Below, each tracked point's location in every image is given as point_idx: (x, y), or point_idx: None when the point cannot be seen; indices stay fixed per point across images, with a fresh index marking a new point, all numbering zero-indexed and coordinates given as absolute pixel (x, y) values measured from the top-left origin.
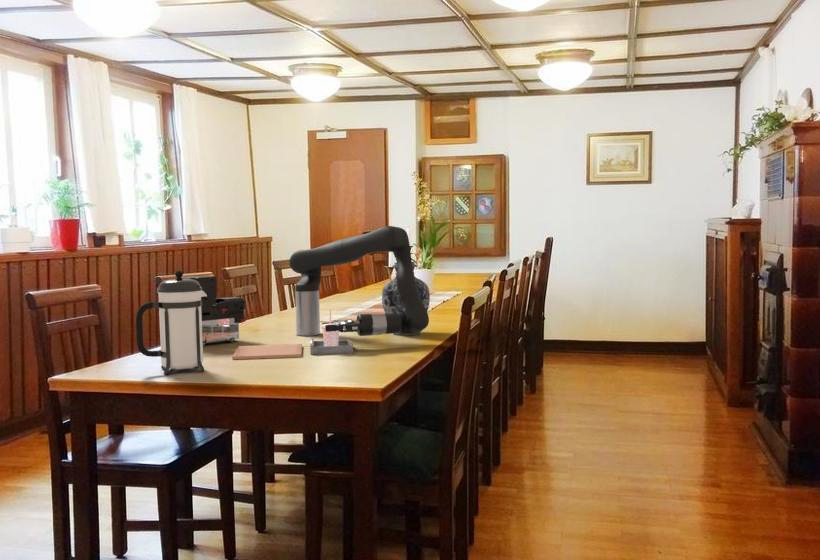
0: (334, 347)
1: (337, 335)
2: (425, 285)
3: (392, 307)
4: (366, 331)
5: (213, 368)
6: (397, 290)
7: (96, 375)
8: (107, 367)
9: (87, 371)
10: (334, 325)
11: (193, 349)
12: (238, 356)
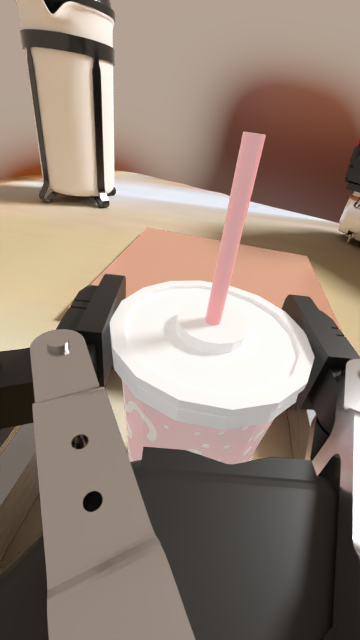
0: (24, 431)
1: (140, 446)
2: None
3: None
4: None
5: (66, 211)
6: None
7: (117, 177)
8: (168, 185)
9: (150, 179)
10: (82, 322)
11: (39, 152)
12: (143, 231)
